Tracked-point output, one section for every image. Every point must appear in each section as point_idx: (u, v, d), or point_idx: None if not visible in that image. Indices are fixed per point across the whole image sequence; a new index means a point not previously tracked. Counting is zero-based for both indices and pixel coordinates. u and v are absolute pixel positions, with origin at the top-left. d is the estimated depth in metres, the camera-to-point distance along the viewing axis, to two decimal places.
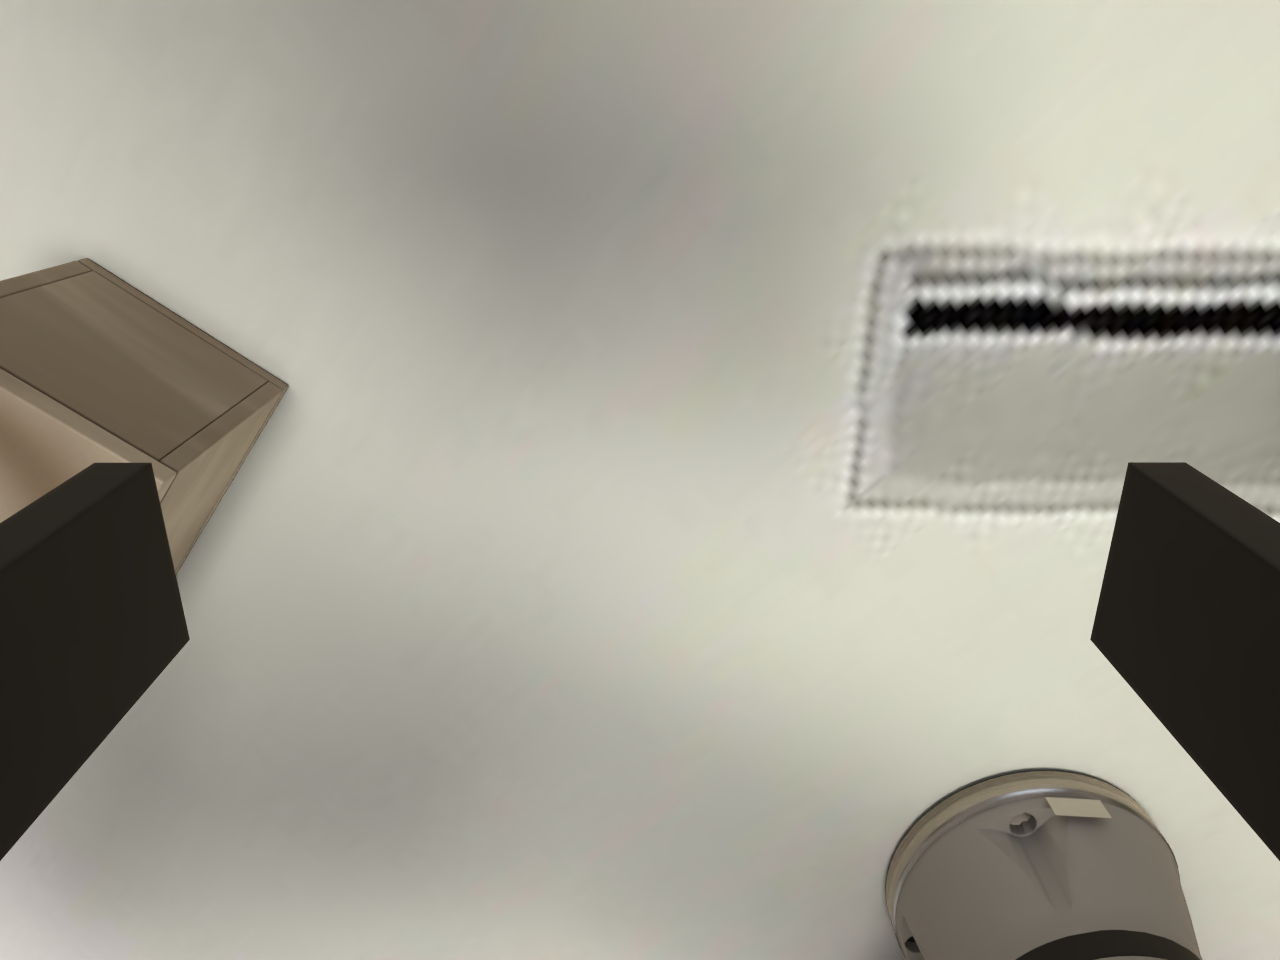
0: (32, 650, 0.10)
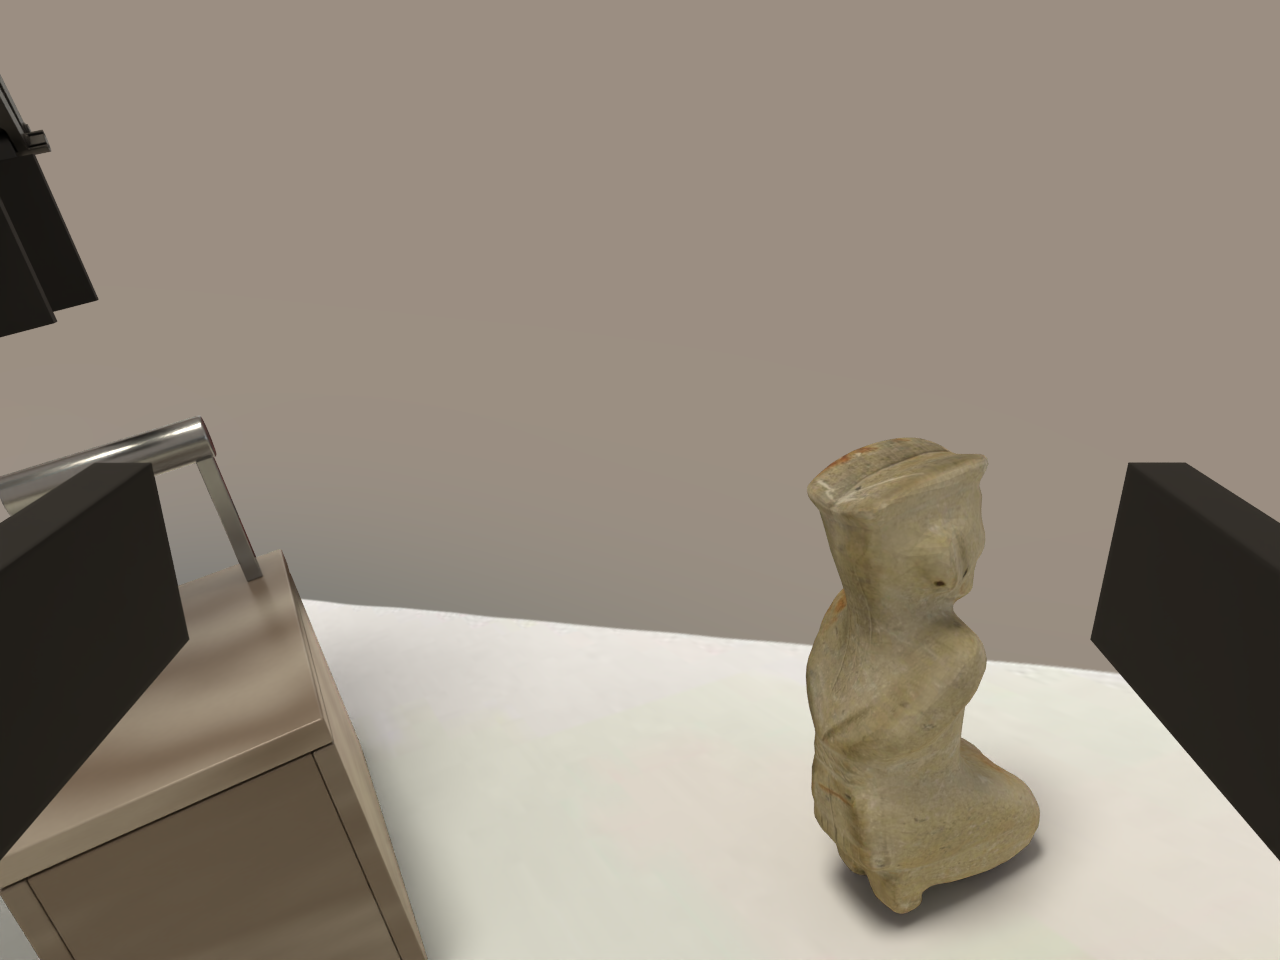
0: (32, 650, 0.10)
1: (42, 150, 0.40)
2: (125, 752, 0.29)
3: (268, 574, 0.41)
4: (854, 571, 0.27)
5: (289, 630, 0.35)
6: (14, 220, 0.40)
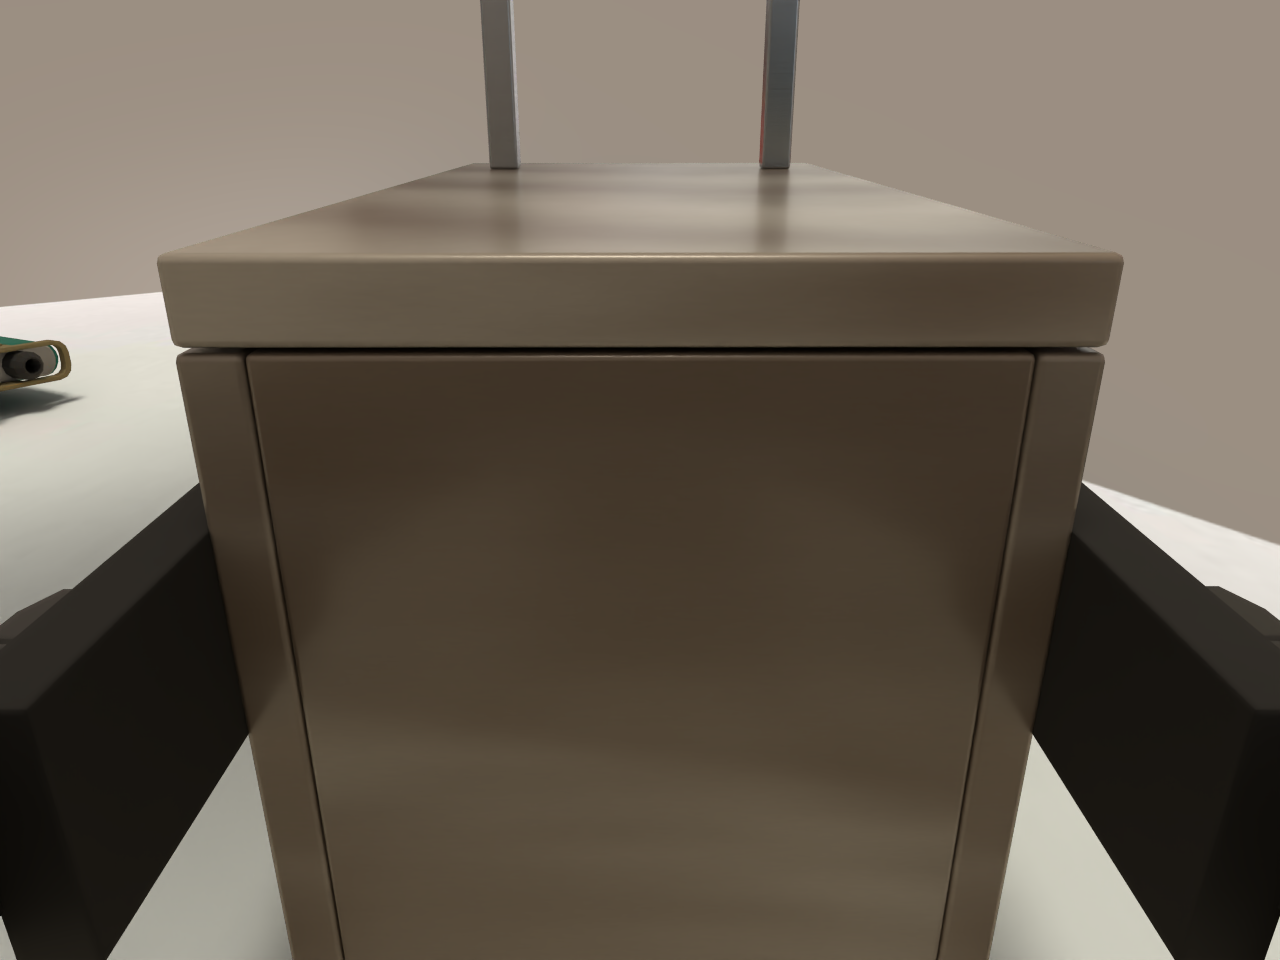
0: None
1: None
2: (544, 219, 0.12)
3: (799, 169, 0.23)
4: None
5: (886, 191, 0.16)
6: None
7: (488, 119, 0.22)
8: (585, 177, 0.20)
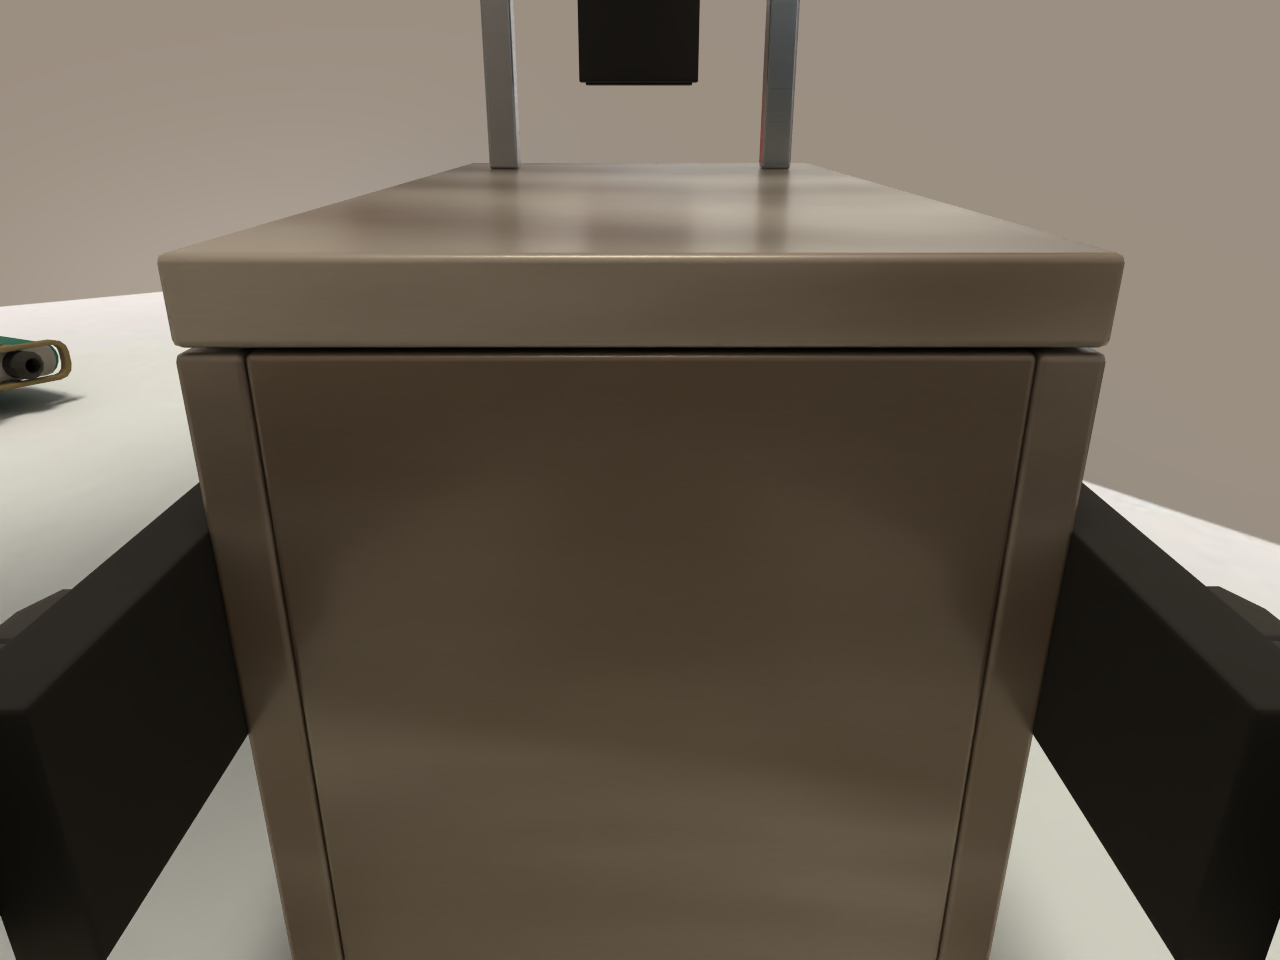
0: None
1: None
2: (545, 218, 0.12)
3: (799, 169, 0.23)
4: None
5: (886, 191, 0.16)
6: None
7: (488, 119, 0.22)
8: (585, 177, 0.20)
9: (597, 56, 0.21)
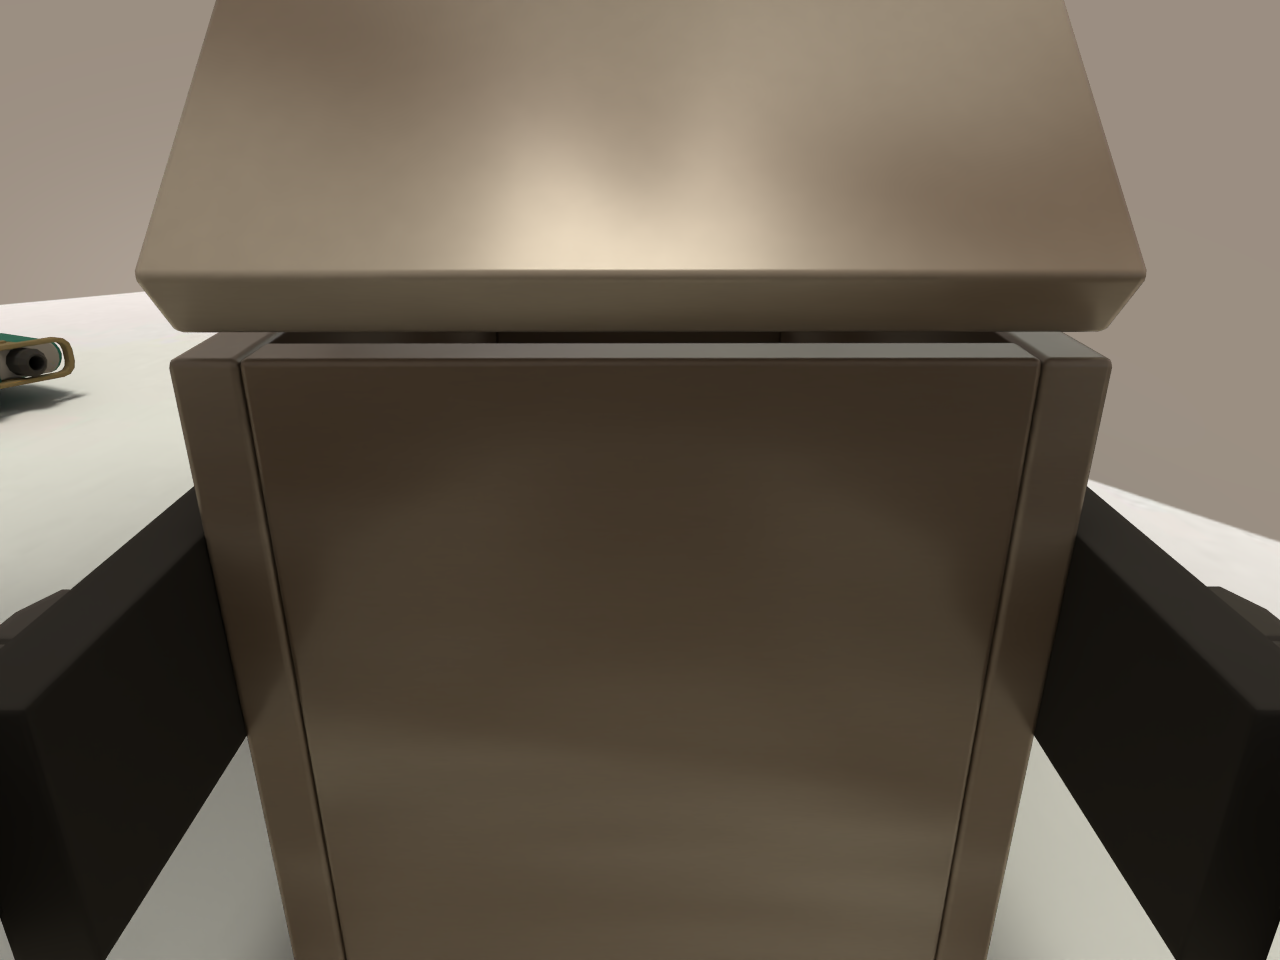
0: None
1: None
2: (526, 38, 0.10)
3: None
4: None
5: None
6: None
7: None
8: None
9: None
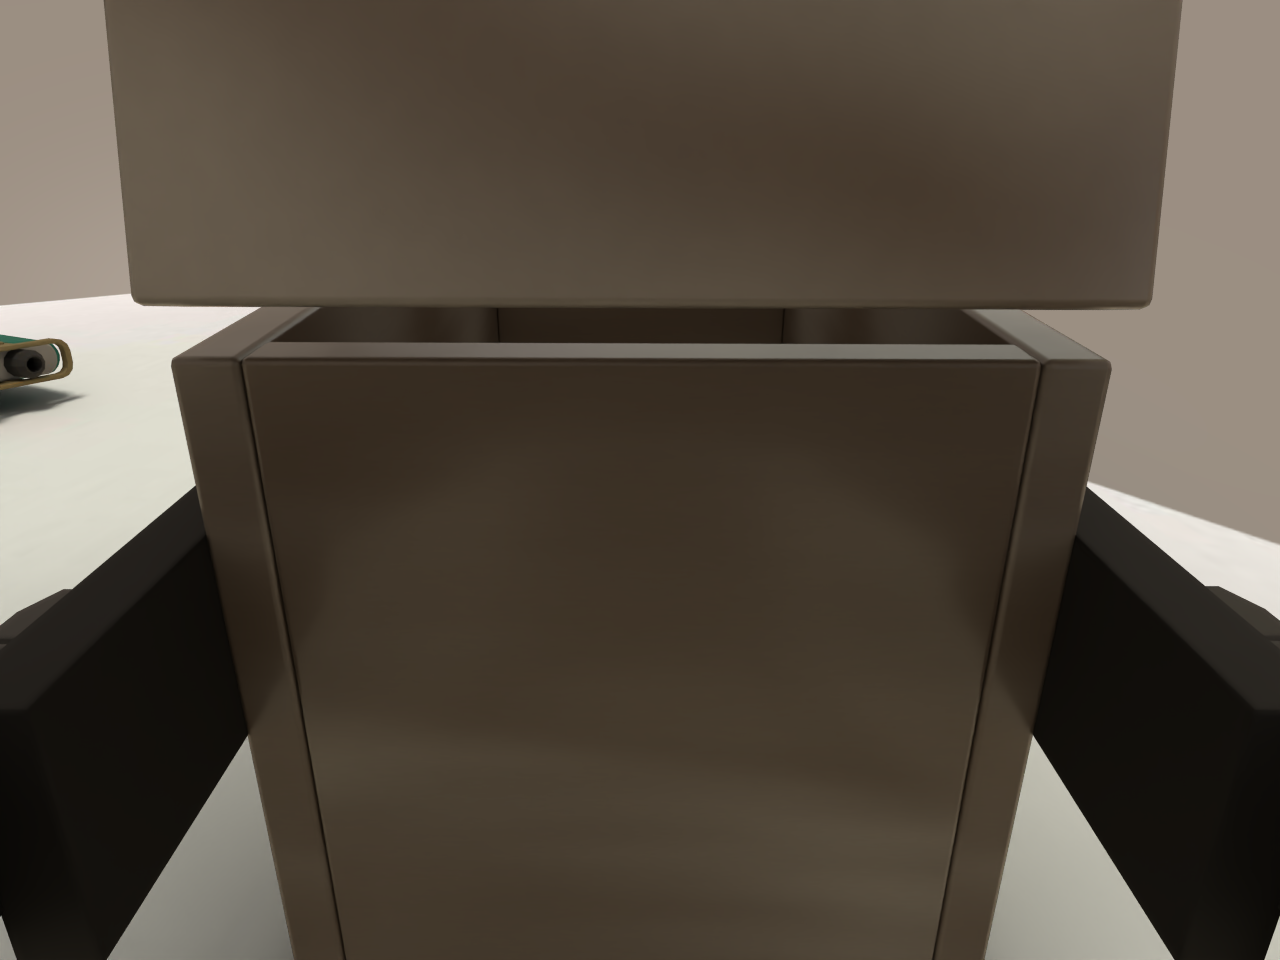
0: None
1: None
2: None
3: None
4: None
5: None
6: None
7: None
8: None
9: None
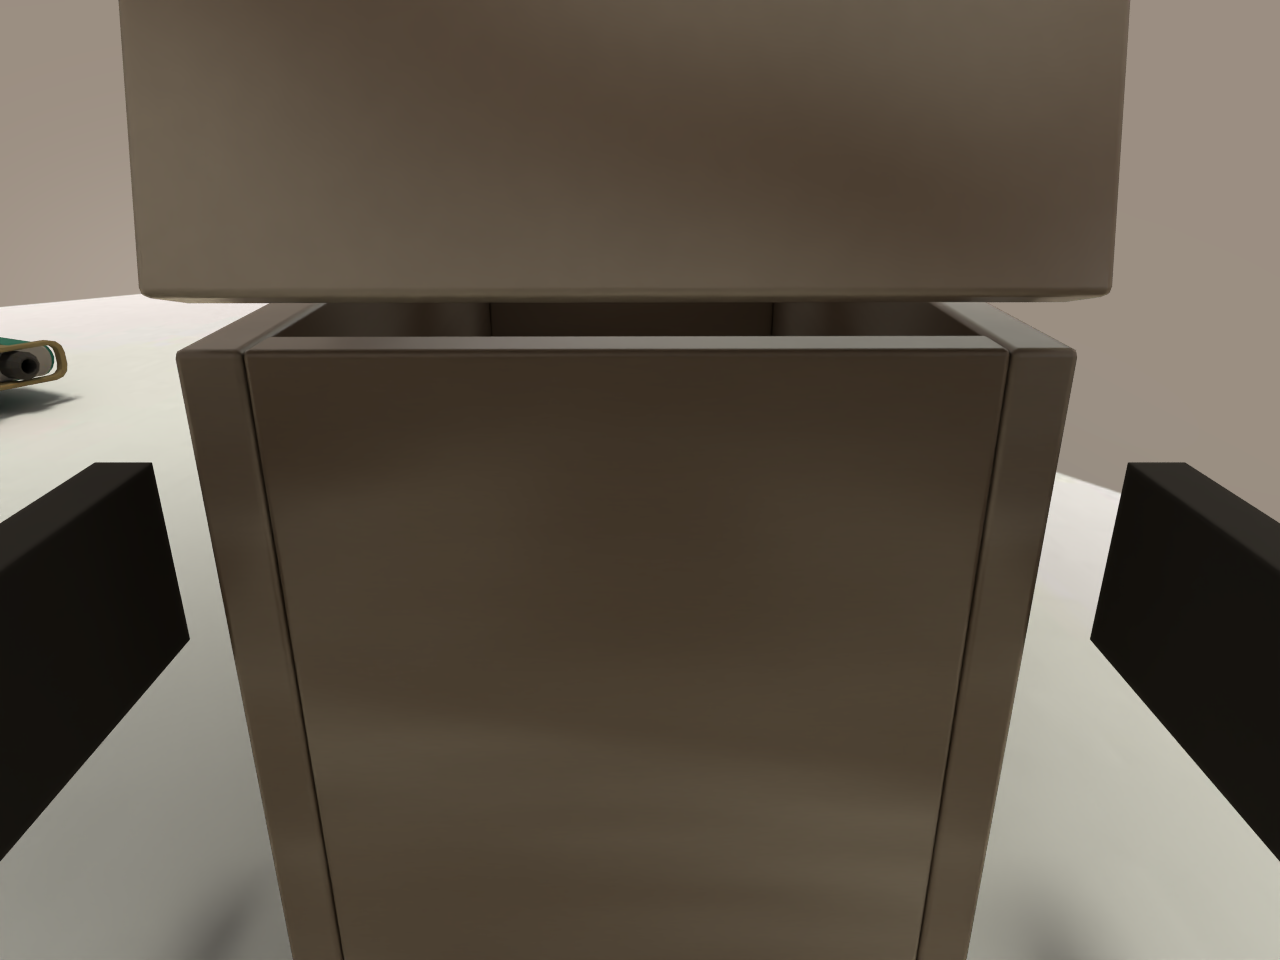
0: (33, 650, 0.10)
1: None
2: None
3: None
4: None
5: None
6: None
7: None
8: None
9: None
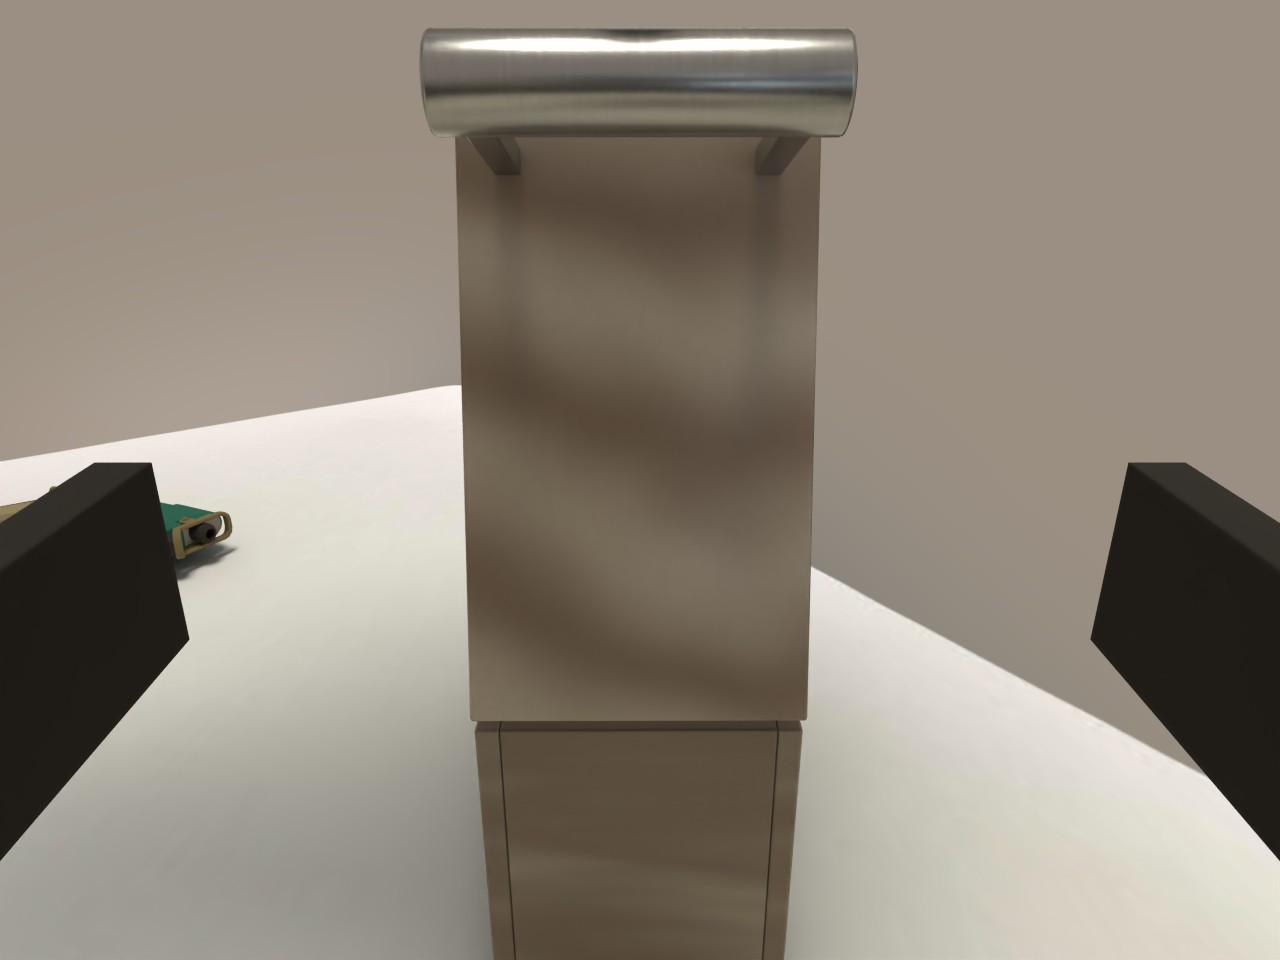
0: (32, 650, 0.10)
1: None
2: (594, 611, 0.25)
3: (790, 176, 0.24)
4: None
5: (798, 448, 0.25)
6: None
7: (488, 165, 0.23)
8: (593, 301, 0.24)
9: None
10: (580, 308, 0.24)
